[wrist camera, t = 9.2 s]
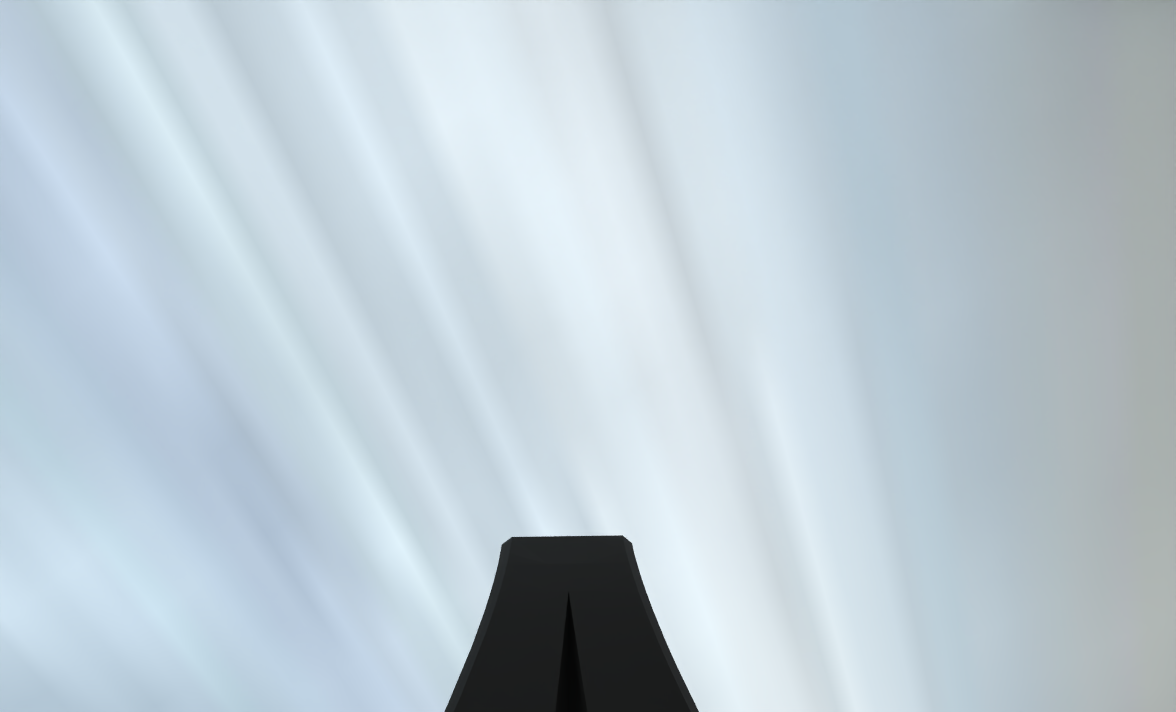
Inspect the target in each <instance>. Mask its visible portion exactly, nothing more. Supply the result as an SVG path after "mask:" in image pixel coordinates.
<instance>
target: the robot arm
mask: <svg viewBox="0 0 1176 712" xmlns="http://www.w3.org/2000/svg"><path fill="white" fill-rule="evenodd" d="M445 712H699V711H698V709H697V707H696V705H695V703H694V701H693V699H692V697H691V695H690V693H689V690H688V688H687V686H686V684H685V682H684V680H683V678H682V676H681V674H680V672H679V670H678V668H677V666H676V664H675V661H674V659H673V657H672V655H671V652H670V650H669V648H668V646H667V643H666V641H665V639H664V636H663V634H662V631H661V629H660V626H659V624H658V621H657V619H656V617H655V614H654V612H653V609H652V607H651V604H650V601H649V598H648V596H647V593H646V590H645V587H644V584H643V581H642V578H641V575H640V572H639V569H638V565H637V562H636V559H635V555H634V551H633V546H632V543H631V542H630V541H629V540H627V539H626V538H625V537H624V536H554V537H511V538H510V539H509V540H507V541H506V542H505V543H504V544H502V547H501V552H500V558H499V563H498V567H497V571H496V575H495V579H494V582H493V586H492V589H491V593H490V596H489V599H488V602H487V605H486V609H485V612H484V614H483V617H482V620H481V623H480V626H479V628H478V631H477V634H476V637H475V639H474V642H473V645H472V647H471V650H470V652H469V655H468V657H467V659H466V662H465V664H464V667H463V669H462V672H461V674H460V676H459V679H458V681H457V684H456V686H455V688H454V691H453V693H452V696H451V698H450V700H449V703H448V705H447V707H446V710H445Z"/></svg>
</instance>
